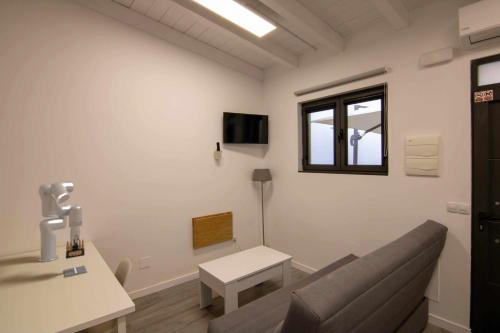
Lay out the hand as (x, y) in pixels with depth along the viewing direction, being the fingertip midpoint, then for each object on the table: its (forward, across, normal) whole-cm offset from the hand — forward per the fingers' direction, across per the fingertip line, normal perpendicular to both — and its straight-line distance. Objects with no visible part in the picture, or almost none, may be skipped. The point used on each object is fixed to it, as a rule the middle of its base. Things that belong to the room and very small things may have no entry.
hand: (75, 250), depth 174 cm
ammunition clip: (+5, 0, 0) cm, 5 cm away
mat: (+15, 0, 0) cm, 15 cm away
